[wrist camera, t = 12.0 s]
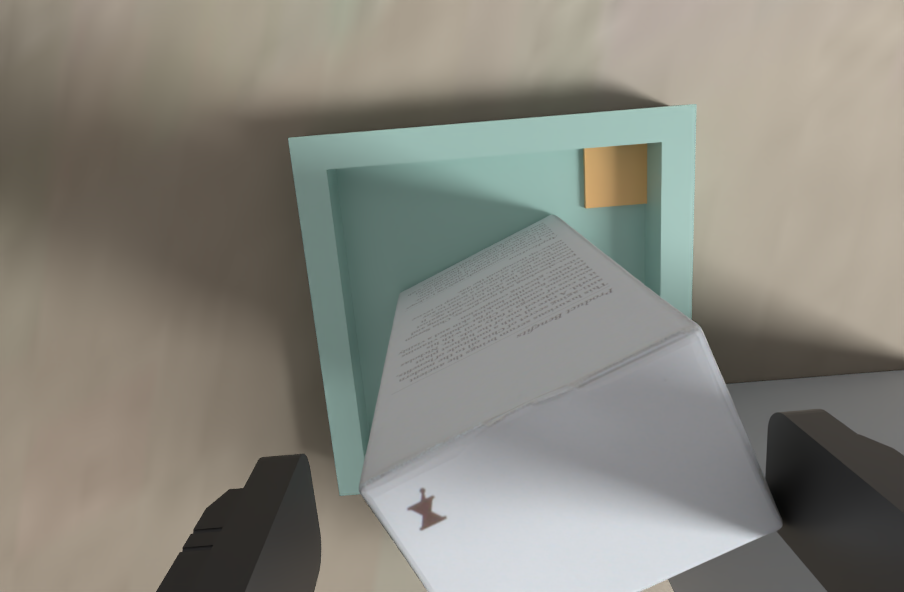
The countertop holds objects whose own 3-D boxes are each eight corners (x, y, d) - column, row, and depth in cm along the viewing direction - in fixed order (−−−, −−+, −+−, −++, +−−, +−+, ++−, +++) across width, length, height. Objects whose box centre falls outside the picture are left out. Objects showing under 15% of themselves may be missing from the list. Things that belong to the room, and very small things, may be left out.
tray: (348, 462, 24) (339, 495, 22) (303, 136, 21) (287, 137, 19) (666, 437, 24) (687, 468, 22) (670, 105, 21) (696, 104, 19)
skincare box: (455, 393, 23) (467, 678, 11) (396, 291, 22) (343, 487, 10) (610, 316, 22) (797, 535, 10) (557, 207, 21) (700, 315, 9)
